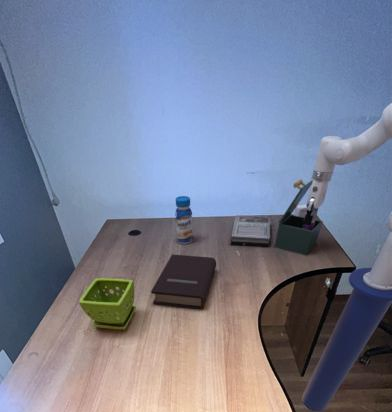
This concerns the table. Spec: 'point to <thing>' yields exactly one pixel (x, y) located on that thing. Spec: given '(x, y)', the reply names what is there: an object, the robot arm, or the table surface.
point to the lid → (296, 198)
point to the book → (184, 282)
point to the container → (310, 227)
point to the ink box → (300, 211)
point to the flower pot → (109, 303)
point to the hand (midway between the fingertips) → (309, 221)
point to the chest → (297, 235)
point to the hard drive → (251, 231)
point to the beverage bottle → (184, 220)
